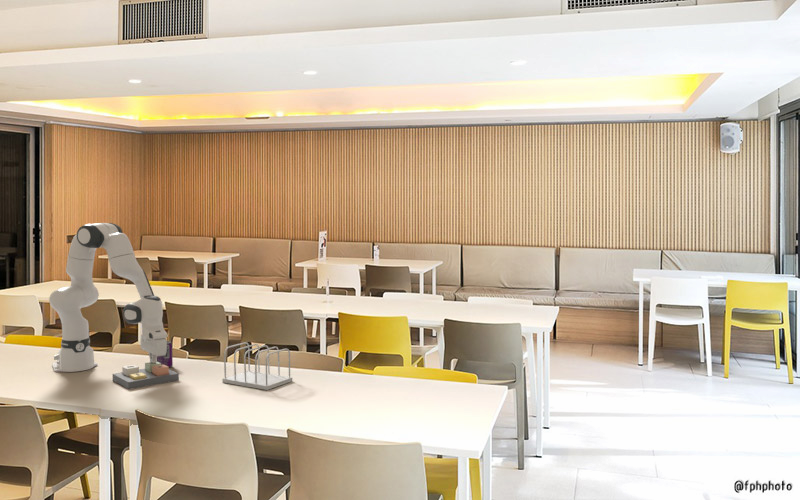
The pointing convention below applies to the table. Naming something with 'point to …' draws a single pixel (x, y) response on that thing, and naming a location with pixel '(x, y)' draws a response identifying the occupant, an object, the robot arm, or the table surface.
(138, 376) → the ochre key
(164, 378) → the keypad base
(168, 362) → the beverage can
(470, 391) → the table surface
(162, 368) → the terracotta key
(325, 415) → the table surface
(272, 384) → the file sorter
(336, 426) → the table surface
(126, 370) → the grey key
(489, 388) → the table surface
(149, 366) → the sage key
